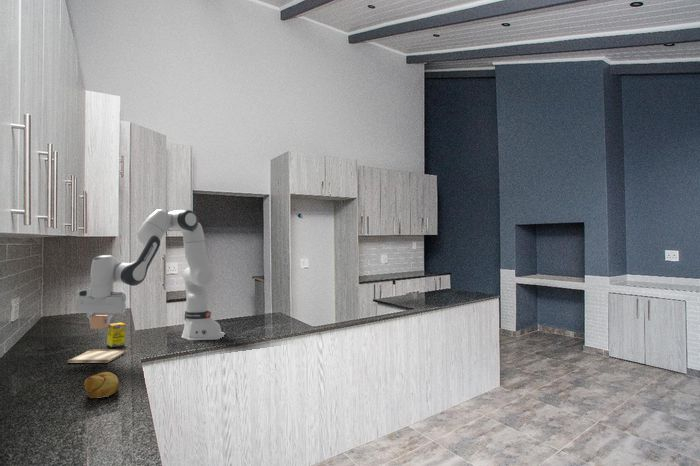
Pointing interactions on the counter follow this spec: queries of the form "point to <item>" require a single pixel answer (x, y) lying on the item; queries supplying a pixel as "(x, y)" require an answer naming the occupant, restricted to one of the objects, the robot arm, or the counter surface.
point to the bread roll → (101, 384)
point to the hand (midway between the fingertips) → (99, 323)
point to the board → (97, 356)
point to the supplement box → (116, 335)
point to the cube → (98, 322)
